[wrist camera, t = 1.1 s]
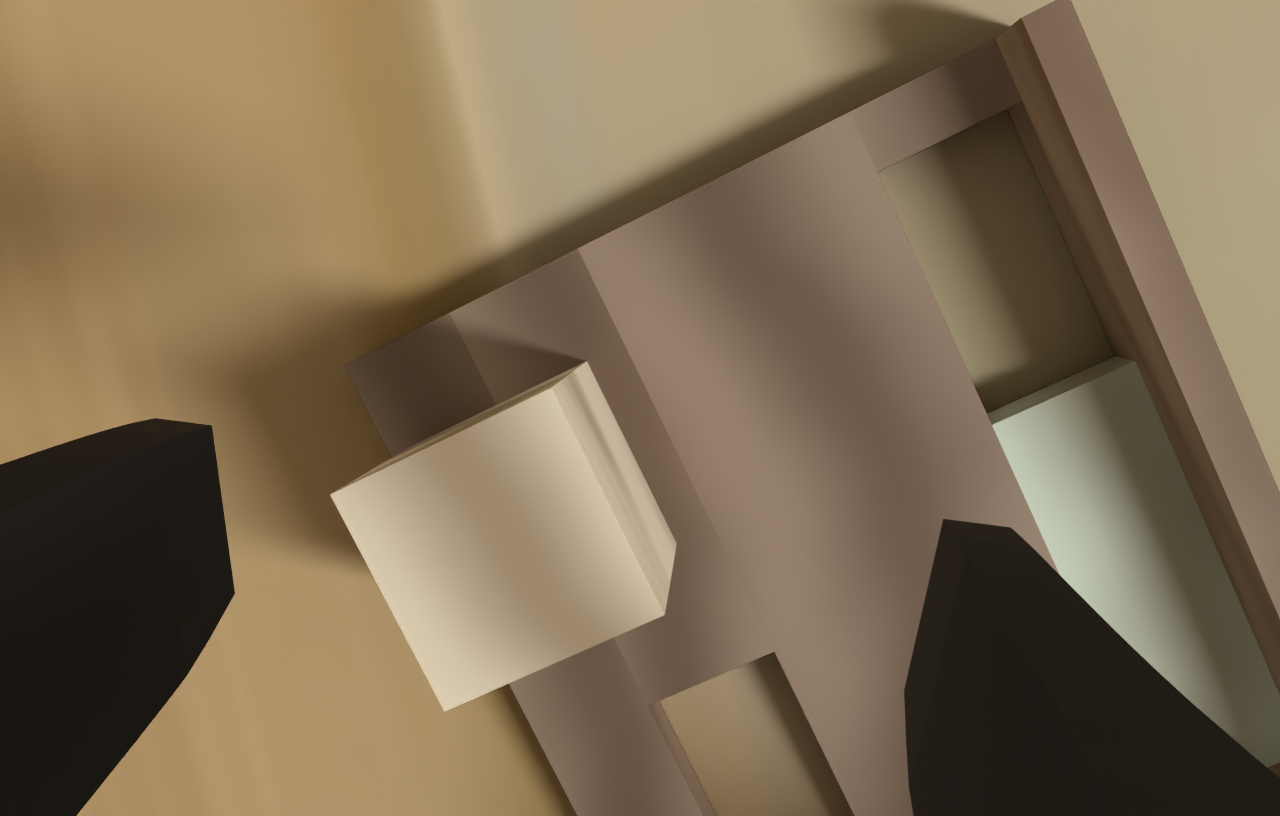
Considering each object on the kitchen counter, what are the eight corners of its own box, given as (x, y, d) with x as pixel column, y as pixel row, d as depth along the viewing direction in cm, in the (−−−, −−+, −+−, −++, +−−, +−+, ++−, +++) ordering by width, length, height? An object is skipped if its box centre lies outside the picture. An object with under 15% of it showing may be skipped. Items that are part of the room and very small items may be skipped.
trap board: (695, 1008, 28) (691, 1104, 25) (361, 360, 26) (310, 375, 23) (1339, 766, 25) (1426, 838, 22) (1022, 29, 23) (1068, -6, 20)
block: (498, 623, 25) (444, 711, 21) (407, 447, 25) (330, 494, 20) (676, 543, 25) (664, 614, 20) (586, 361, 24) (551, 387, 19)
